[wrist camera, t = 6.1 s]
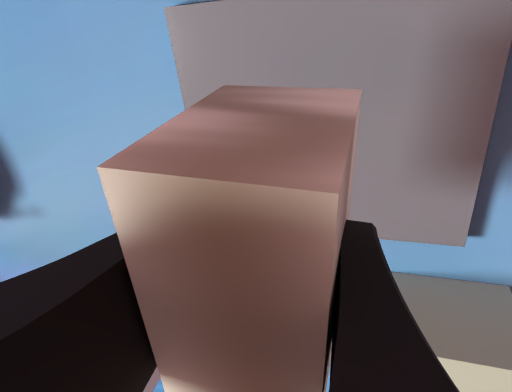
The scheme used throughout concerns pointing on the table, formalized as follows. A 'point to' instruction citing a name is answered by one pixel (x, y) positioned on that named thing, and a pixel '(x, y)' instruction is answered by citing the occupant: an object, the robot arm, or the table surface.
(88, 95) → the table surface
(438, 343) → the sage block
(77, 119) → the table surface
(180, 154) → the tan block
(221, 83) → the slate plate
